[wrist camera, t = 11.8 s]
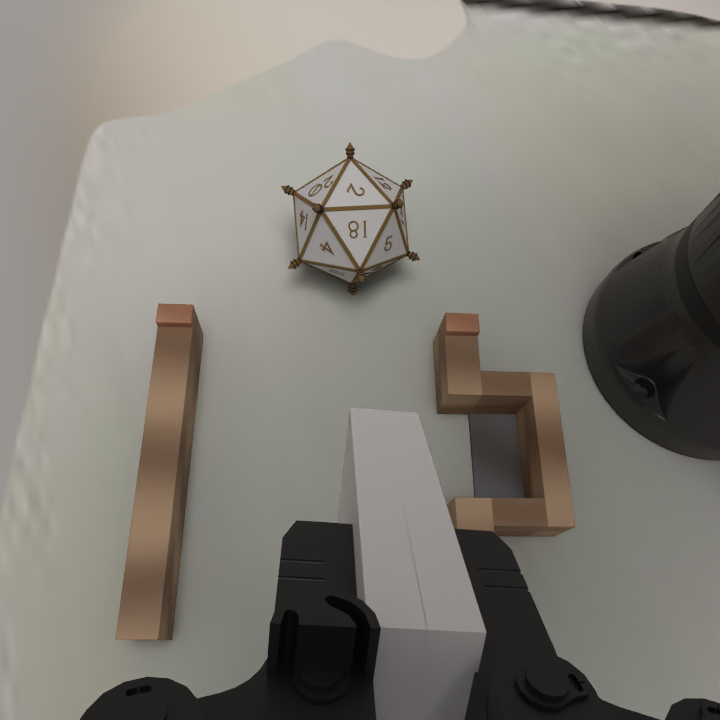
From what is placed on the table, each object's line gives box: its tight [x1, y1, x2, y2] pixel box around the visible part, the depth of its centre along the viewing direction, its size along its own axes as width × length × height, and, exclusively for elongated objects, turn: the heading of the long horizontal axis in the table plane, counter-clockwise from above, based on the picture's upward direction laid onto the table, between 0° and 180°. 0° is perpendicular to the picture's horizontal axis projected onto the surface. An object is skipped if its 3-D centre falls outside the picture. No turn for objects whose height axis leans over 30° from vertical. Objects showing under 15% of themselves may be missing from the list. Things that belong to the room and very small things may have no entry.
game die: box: [281, 143, 420, 295], centre depth 41 cm, size 9×8×10 cm
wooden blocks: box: [115, 304, 575, 640], centre depth 37 cm, size 18×24×4 cm
